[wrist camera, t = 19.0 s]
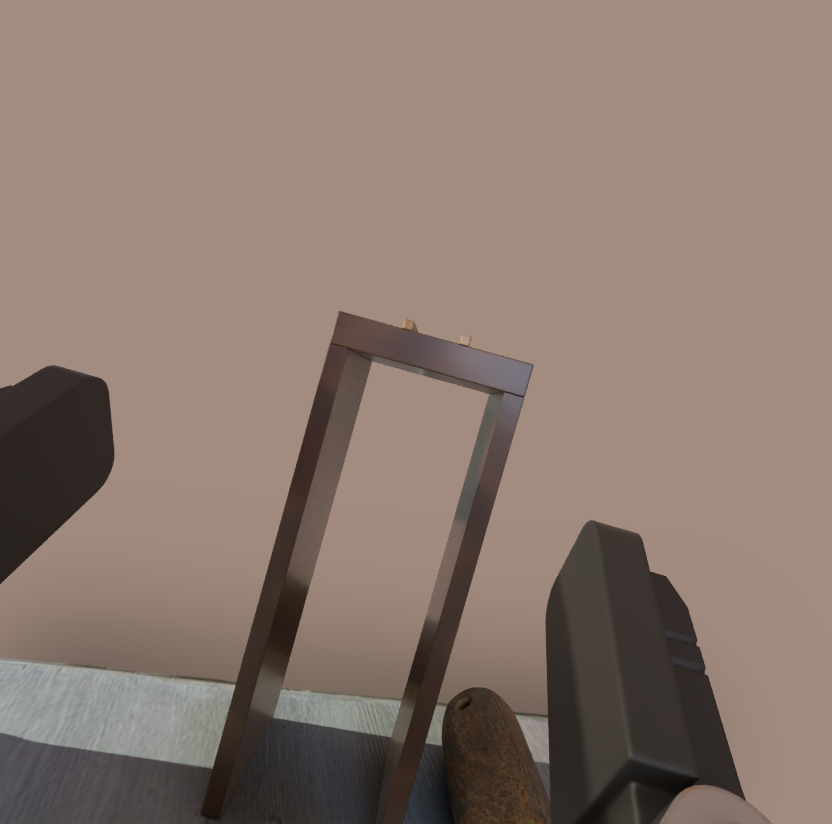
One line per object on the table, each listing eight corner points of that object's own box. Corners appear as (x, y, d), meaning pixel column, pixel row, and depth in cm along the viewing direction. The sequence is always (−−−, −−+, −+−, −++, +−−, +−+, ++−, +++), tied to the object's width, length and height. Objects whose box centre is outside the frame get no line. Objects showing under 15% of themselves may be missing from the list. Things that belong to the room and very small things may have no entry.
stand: (199, 814, 34) (341, 300, 33) (258, 714, 45) (366, 325, 44) (387, 874, 34) (536, 354, 33) (401, 758, 45) (513, 366, 44)
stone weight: (418, 745, 47) (440, 670, 47) (495, 759, 48) (517, 685, 48) (456, 916, 32) (488, 807, 32) (566, 930, 34) (597, 826, 33)
